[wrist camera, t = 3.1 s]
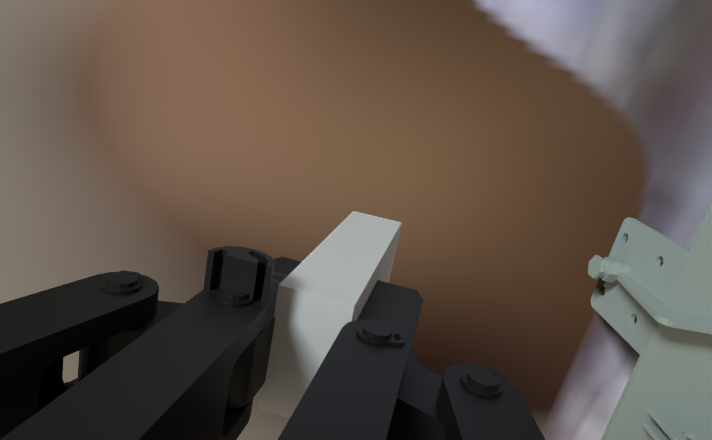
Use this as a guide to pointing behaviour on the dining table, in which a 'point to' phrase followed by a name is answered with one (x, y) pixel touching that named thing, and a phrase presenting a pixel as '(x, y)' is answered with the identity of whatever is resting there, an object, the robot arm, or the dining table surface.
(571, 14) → the dining table surface
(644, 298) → the metal bracket
